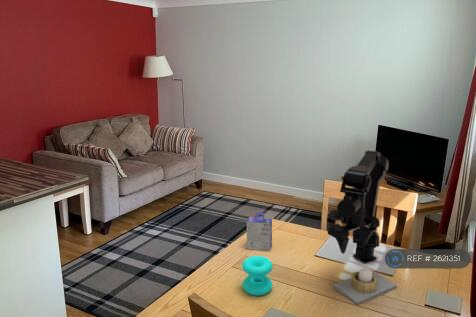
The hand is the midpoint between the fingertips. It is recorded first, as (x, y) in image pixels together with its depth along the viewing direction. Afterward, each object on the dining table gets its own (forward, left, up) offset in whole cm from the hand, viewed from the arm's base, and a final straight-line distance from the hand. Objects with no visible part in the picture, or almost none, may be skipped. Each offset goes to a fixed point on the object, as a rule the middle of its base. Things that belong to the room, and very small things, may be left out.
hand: (352, 249), depth 129 cm
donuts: (+30, -12, -12) cm, 35 cm away
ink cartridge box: (+14, -36, -12) cm, 41 cm away
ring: (0, +6, -11) cm, 12 cm away
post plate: (-1, +6, -12) cm, 13 cm away
